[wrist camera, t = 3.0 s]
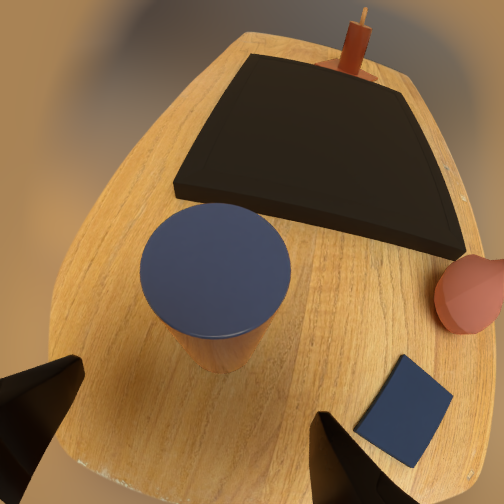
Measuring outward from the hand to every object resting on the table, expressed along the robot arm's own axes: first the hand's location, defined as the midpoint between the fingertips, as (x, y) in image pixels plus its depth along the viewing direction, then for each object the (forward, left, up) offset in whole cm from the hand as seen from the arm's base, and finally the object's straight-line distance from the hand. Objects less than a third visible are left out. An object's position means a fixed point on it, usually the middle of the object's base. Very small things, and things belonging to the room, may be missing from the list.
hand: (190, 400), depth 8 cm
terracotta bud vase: (+21, -13, -11) cm, 27 cm away
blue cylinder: (+4, +3, -11) cm, 12 cm away
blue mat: (+9, -14, -11) cm, 20 cm away
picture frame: (+37, +12, -11) cm, 40 cm away
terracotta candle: (+64, +23, -11) cm, 69 cm away
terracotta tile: (+64, +23, -11) cm, 69 cm away
